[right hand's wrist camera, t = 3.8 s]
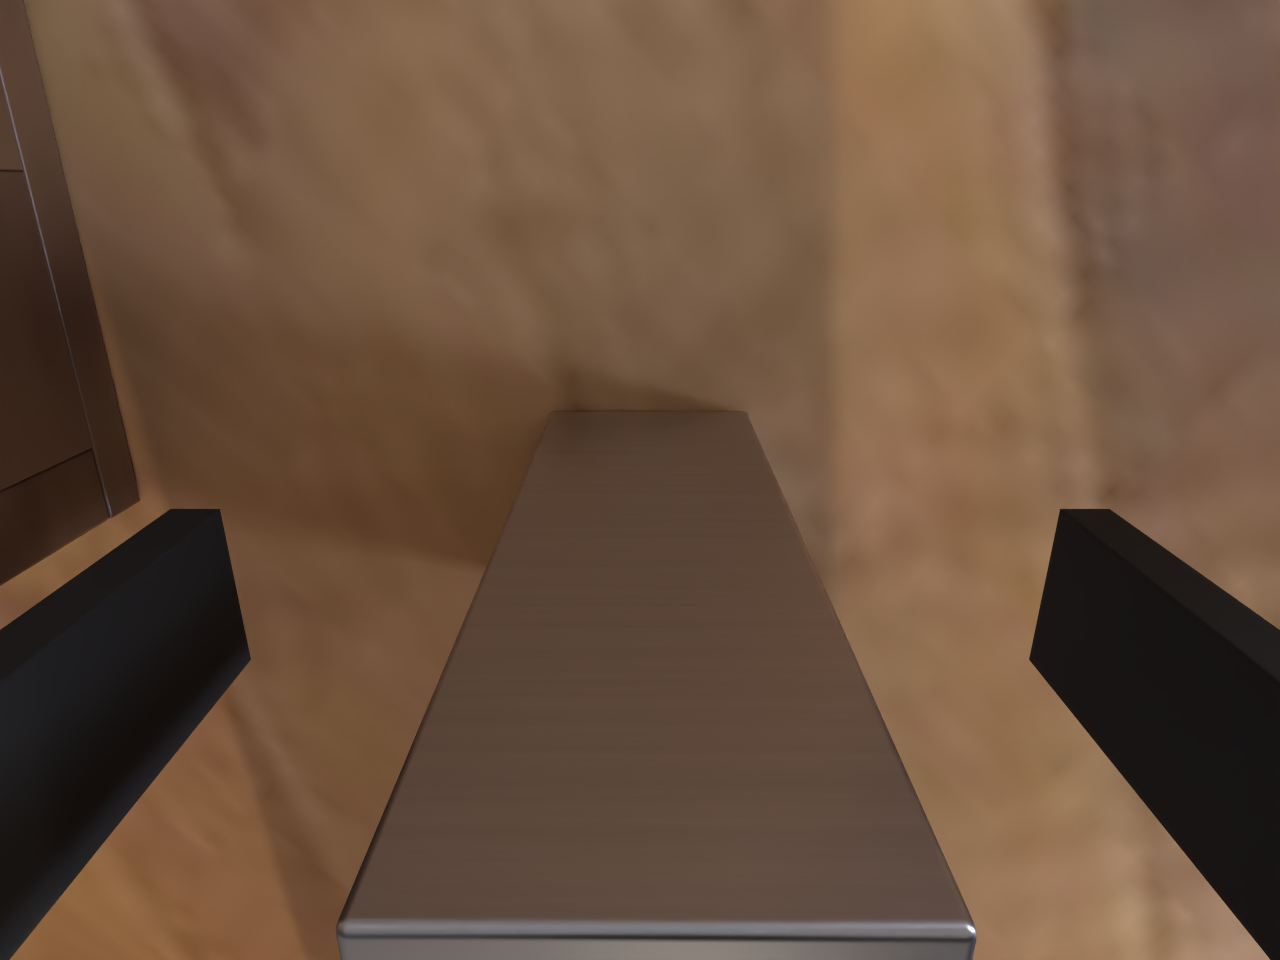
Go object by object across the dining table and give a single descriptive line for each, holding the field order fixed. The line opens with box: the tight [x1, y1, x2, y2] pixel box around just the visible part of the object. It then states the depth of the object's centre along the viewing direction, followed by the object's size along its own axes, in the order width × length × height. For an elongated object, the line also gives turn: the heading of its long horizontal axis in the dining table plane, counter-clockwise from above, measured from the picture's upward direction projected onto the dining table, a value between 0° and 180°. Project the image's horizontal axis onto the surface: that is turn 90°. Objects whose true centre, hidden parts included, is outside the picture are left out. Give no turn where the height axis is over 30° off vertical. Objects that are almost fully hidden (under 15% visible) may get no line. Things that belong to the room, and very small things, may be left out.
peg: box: [336, 411, 976, 960], centre depth 11 cm, size 4×4×12 cm
